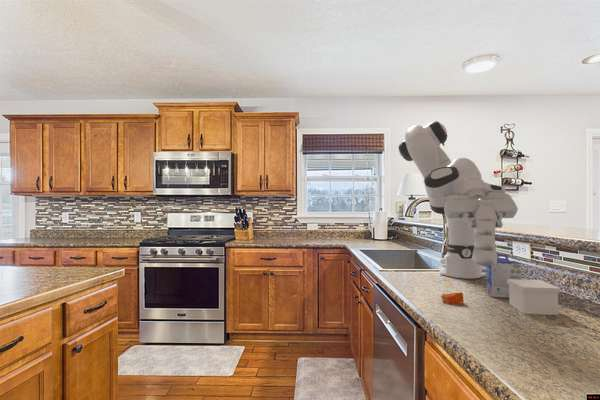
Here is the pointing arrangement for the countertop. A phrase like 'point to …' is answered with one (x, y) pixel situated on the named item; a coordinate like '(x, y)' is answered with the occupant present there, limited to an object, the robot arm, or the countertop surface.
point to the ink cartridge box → (502, 276)
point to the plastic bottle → (484, 234)
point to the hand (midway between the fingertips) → (486, 226)
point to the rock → (453, 298)
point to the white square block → (533, 296)
